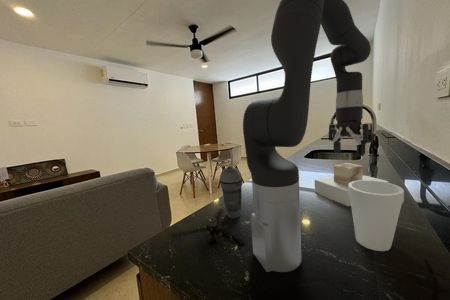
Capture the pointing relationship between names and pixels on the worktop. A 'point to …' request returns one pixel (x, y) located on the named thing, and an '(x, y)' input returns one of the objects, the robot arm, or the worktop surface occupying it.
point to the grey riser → (337, 189)
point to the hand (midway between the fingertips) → (348, 154)
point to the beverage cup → (231, 190)
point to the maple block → (347, 173)
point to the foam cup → (375, 212)
